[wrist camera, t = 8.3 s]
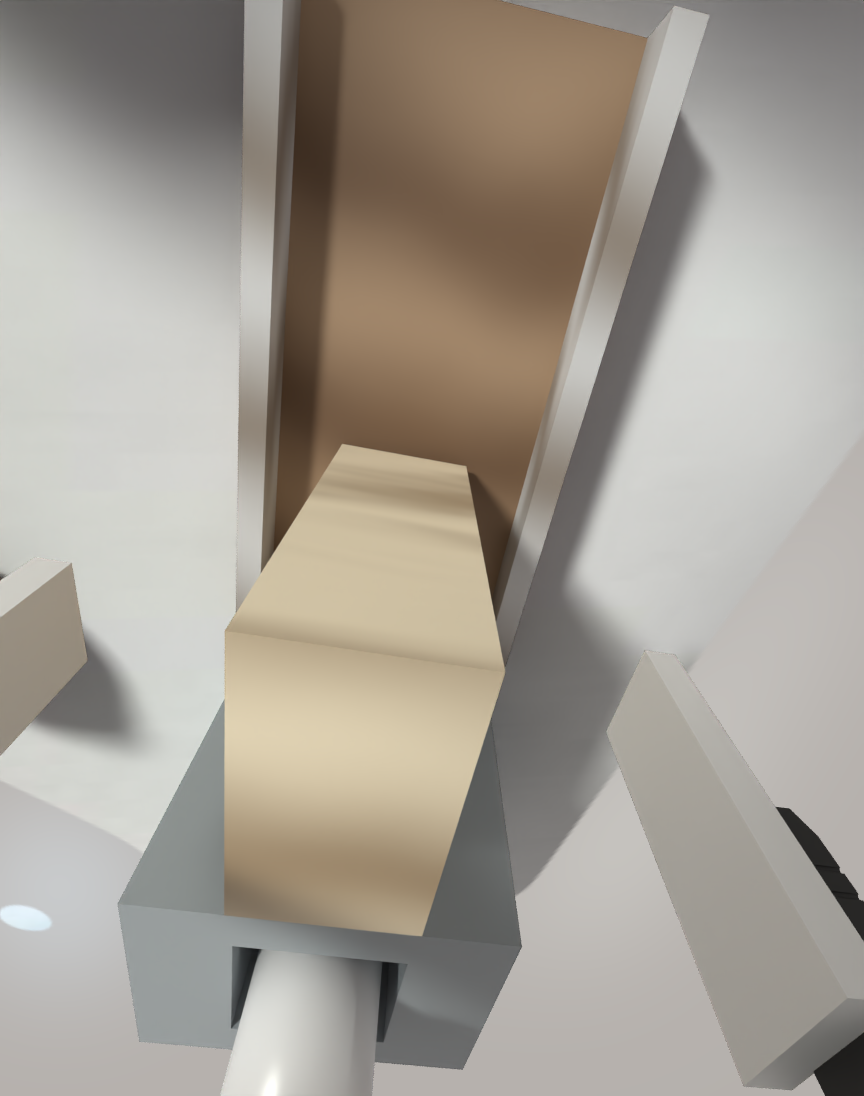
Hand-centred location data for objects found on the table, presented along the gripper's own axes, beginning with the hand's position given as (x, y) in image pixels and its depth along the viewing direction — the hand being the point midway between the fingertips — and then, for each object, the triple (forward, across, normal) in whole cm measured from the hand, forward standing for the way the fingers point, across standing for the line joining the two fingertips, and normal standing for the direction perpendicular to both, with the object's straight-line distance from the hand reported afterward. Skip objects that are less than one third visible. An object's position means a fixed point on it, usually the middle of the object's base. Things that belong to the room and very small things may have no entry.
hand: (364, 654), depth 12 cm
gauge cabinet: (+8, 0, -12) cm, 14 cm away
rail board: (+8, 0, +4) cm, 9 cm away
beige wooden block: (+6, 0, 0) cm, 6 cm away
